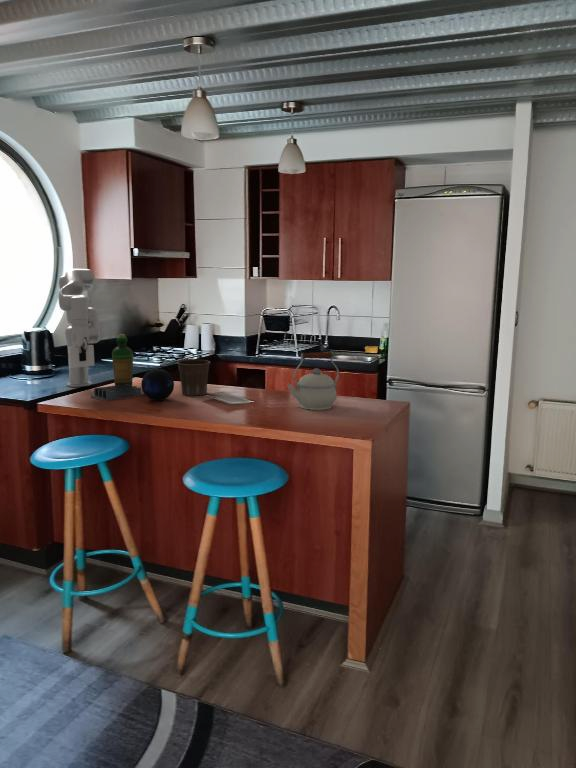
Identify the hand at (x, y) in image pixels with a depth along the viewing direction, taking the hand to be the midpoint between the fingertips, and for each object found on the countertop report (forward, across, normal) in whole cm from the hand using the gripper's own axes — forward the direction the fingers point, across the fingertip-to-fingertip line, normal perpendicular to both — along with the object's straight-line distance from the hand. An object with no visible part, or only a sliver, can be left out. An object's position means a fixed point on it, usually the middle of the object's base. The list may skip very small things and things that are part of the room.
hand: (81, 360), depth 303 cm
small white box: (+3, 0, 0) cm, 3 cm away
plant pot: (+17, +33, +43) cm, 56 cm away
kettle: (+16, +94, +65) cm, 115 cm away
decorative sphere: (+17, +35, +21) cm, 44 cm away
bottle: (+18, -3, +24) cm, 30 cm away
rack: (+17, +13, +12) cm, 24 cm away
